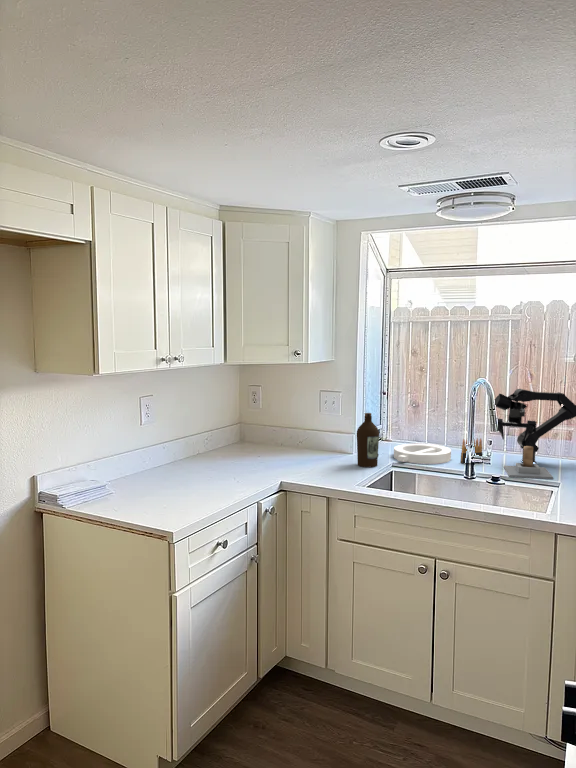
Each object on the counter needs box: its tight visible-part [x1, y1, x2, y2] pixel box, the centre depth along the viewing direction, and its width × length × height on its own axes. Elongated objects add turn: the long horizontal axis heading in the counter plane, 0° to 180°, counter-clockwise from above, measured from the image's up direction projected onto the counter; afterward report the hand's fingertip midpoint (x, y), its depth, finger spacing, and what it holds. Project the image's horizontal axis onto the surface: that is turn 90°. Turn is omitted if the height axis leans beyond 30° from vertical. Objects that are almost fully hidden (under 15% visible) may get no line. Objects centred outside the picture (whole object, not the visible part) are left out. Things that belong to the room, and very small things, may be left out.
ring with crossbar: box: [393, 443, 452, 465], centre depth 300 cm, size 28×28×5 cm
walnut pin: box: [522, 446, 533, 467], centre depth 268 cm, size 4×4×11 cm
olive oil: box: [356, 412, 380, 468], centre depth 282 cm, size 11×11×25 cm
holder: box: [503, 462, 554, 480], centre depth 268 cm, size 18×18×4 cm
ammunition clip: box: [460, 437, 483, 464], centre depth 288 cm, size 11×2×12 cm, turn 101°
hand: (513, 439), depth 275 cm, fingers open, 9 cm apart
